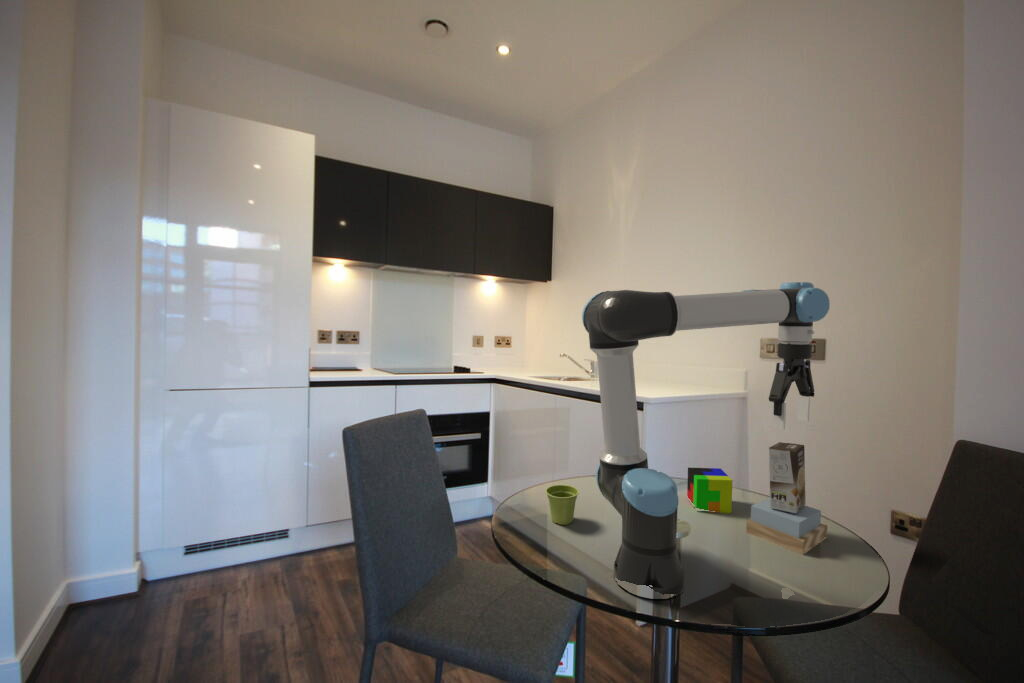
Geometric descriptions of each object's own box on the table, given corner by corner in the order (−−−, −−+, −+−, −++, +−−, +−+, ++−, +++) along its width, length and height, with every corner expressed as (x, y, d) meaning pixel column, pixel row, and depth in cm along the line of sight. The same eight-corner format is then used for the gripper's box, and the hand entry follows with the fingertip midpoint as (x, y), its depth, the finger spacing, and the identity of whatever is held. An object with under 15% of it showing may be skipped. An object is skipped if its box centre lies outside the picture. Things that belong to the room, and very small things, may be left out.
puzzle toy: (719, 499, 147) (720, 468, 147) (731, 513, 137) (732, 480, 137) (687, 498, 148) (687, 467, 148) (696, 511, 138) (697, 479, 138)
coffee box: (797, 514, 118) (795, 451, 118) (769, 508, 123) (768, 447, 123) (806, 504, 125) (804, 444, 125) (779, 498, 130) (778, 441, 129)
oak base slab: (802, 557, 114) (803, 541, 114) (746, 534, 126) (746, 520, 125) (826, 540, 122) (827, 525, 122) (771, 520, 134) (772, 507, 134)
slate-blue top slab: (798, 538, 116) (799, 522, 115) (750, 520, 125) (751, 505, 125) (820, 525, 122) (820, 510, 122) (773, 509, 132) (773, 495, 132)
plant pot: (552, 530, 127) (552, 499, 127) (541, 515, 136) (541, 486, 136) (583, 525, 130) (584, 495, 129) (570, 511, 139) (571, 483, 138)
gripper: (787, 346, 110) (783, 434, 111) (831, 341, 124) (827, 419, 126) (755, 344, 116) (752, 428, 117) (800, 339, 130) (797, 414, 132)
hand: (791, 424), depth 121 cm, fingers open, 13 cm apart
